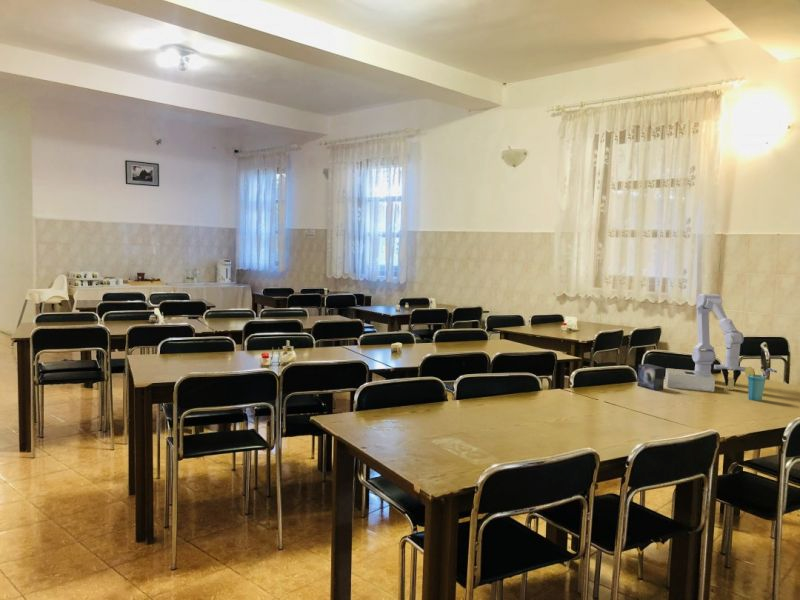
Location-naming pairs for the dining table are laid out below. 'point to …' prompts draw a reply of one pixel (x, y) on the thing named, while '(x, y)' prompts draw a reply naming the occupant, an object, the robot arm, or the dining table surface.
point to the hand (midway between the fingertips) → (729, 385)
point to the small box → (651, 376)
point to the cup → (756, 383)
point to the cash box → (690, 380)
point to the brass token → (730, 383)
